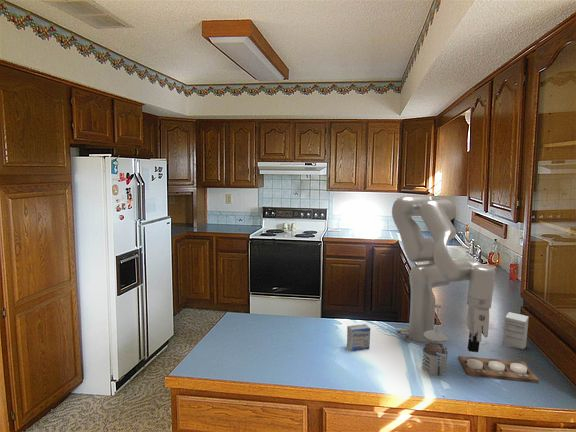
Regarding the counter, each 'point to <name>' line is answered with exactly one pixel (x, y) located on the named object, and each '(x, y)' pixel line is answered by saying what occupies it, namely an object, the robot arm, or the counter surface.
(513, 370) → the button
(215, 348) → the counter surface
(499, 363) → the button
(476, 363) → the three-pip button
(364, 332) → the medicine box
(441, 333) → the french press
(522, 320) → the supplement box
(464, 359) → the button panel
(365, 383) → the counter surface
